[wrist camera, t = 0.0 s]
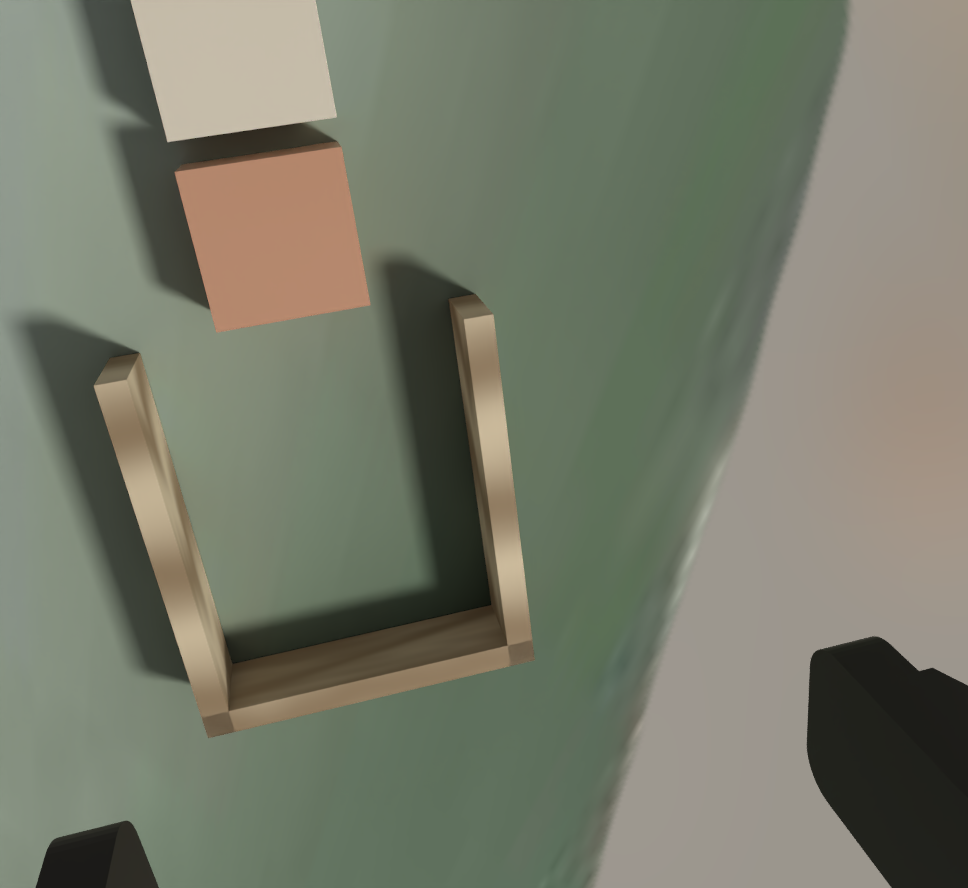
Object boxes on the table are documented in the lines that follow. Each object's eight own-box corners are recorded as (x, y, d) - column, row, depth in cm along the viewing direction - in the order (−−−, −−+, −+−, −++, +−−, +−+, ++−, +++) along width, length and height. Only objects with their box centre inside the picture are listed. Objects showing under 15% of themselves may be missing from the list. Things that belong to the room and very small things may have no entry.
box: (109, 357, 36) (93, 385, 33) (475, 294, 38) (493, 314, 35) (213, 689, 43) (208, 738, 40) (517, 619, 45) (534, 660, 42)
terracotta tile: (182, 163, 34) (174, 172, 31) (336, 140, 35) (341, 146, 32) (221, 312, 37) (216, 332, 34) (363, 287, 37) (370, 304, 35)
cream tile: (131, -41, 31) (117, -52, 28) (300, -61, 32) (302, -73, 29) (176, 136, 34) (167, 142, 31) (332, 113, 35) (336, 117, 32)
